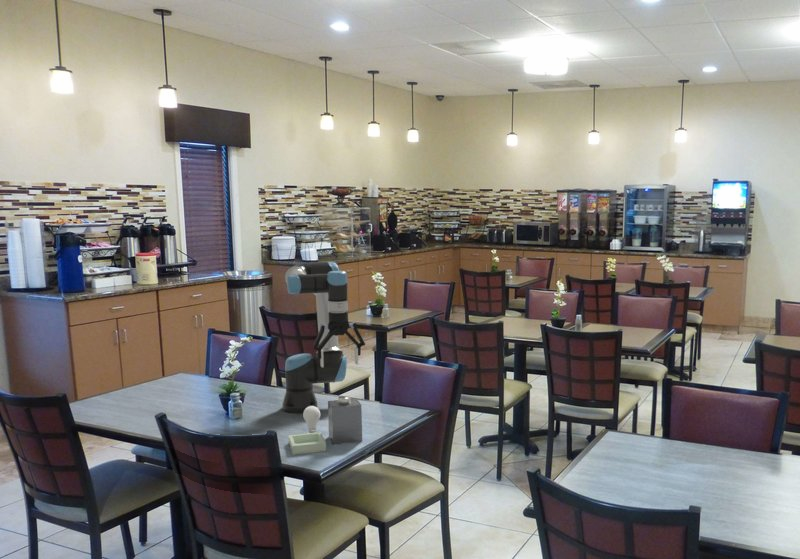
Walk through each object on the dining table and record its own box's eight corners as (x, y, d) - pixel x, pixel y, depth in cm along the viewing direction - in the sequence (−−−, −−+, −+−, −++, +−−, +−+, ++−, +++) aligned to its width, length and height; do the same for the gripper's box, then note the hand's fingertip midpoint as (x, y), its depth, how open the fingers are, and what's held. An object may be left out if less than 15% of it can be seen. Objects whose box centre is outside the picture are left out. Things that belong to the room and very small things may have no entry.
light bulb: (317, 437, 261) (317, 409, 260) (301, 436, 262) (300, 408, 261) (323, 431, 267) (322, 404, 266) (307, 430, 269) (306, 403, 268)
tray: (288, 443, 254) (288, 435, 254) (320, 440, 258) (320, 432, 257) (292, 454, 243) (292, 446, 243) (326, 450, 246) (326, 442, 246)
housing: (328, 436, 261) (327, 395, 260) (356, 433, 264) (355, 393, 263) (333, 444, 252) (331, 402, 251) (362, 441, 255) (361, 399, 254)
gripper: (307, 315, 256) (308, 370, 259) (372, 310, 263) (373, 364, 266) (304, 311, 263) (306, 365, 266) (367, 307, 270) (368, 360, 273)
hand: (339, 365), depth 266 cm, fingers open, 13 cm apart
